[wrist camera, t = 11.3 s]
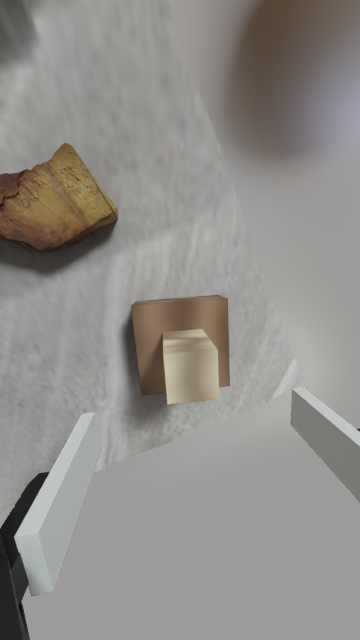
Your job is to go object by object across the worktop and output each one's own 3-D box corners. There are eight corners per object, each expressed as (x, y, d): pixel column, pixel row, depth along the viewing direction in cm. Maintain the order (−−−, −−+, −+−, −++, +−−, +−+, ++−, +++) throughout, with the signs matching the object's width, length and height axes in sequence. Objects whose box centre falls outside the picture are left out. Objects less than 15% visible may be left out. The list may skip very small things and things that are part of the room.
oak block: (166, 369, 29) (167, 404, 21) (163, 332, 28) (163, 354, 20) (203, 365, 29) (219, 398, 21) (202, 328, 28) (217, 349, 20)
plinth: (144, 378, 34) (141, 395, 29) (135, 301, 31) (130, 306, 27) (220, 370, 35) (229, 386, 30) (217, 295, 32) (227, 298, 27)
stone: (91, 153, 27) (74, 126, 22) (123, 226, 30) (115, 216, 24) (-17, 201, 28) (-57, 185, 23) (23, 270, 30) (-6, 269, 25)
